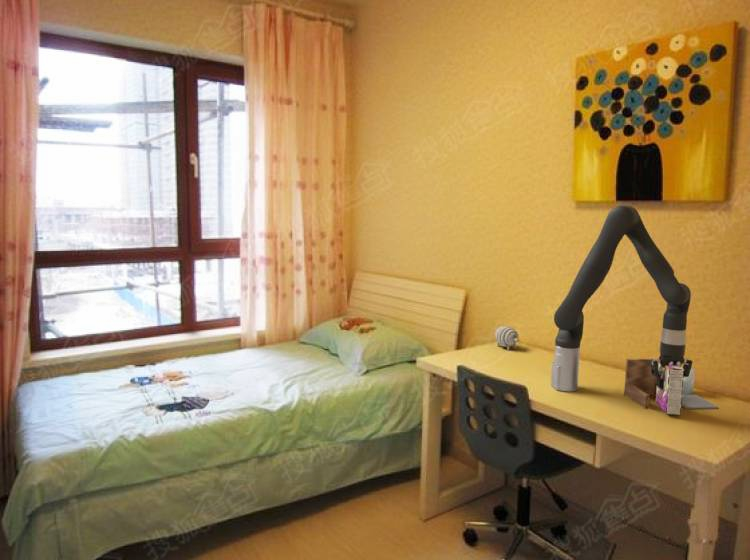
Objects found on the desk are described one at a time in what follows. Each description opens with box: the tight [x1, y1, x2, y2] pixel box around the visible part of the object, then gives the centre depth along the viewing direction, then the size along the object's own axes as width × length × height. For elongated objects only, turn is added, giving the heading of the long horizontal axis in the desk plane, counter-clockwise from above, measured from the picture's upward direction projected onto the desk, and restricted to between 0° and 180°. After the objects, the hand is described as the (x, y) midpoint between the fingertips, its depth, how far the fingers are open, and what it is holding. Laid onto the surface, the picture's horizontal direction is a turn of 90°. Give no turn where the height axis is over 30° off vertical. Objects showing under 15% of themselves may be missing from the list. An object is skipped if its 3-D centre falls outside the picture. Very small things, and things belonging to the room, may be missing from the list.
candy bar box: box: [655, 363, 684, 416], centre depth 179 cm, size 11×5×16 cm, turn 169°
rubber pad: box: [681, 394, 719, 410], centre depth 189 cm, size 12×12×1 cm
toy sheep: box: [494, 325, 520, 351], centre depth 260 cm, size 11×17×11 cm, turn 32°
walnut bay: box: [623, 358, 657, 410], centre depth 189 cm, size 12×14×14 cm
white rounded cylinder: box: [681, 366, 696, 395], centre depth 199 cm, size 7×7×9 cm
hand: (669, 388), depth 179 cm, fingers closed on candy bar box, 5 cm apart
